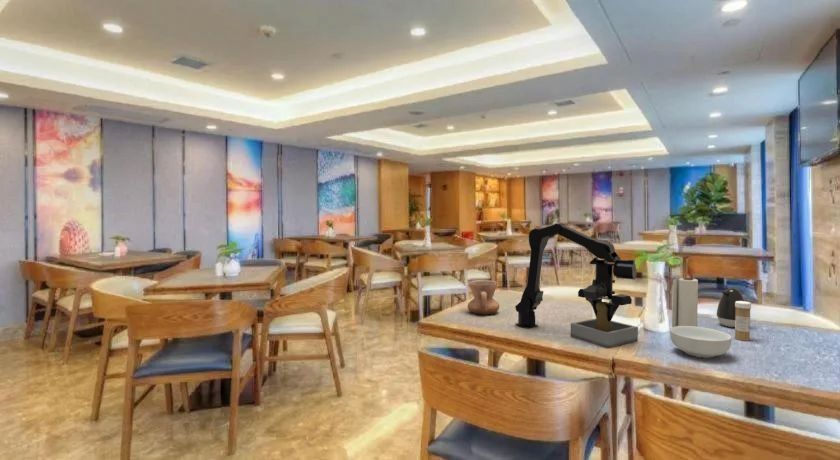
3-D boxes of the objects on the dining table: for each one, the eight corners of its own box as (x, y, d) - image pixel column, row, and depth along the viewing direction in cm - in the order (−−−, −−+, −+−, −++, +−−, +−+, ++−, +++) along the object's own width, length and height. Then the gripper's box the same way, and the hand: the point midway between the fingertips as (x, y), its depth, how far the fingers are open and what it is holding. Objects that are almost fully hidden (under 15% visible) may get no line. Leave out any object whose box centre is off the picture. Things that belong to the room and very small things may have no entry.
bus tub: (570, 336, 164) (570, 323, 164) (599, 330, 172) (599, 317, 172) (607, 348, 150) (608, 333, 150) (637, 340, 158) (637, 326, 158)
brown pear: (613, 334, 157) (614, 304, 157) (595, 334, 158) (596, 303, 158) (610, 330, 163) (610, 300, 163) (592, 329, 164) (593, 300, 164)
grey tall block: (699, 337, 162) (700, 278, 161) (694, 340, 157) (695, 280, 156) (677, 333, 167) (678, 276, 166) (671, 336, 162) (672, 278, 161)
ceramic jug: (468, 308, 213) (467, 278, 212) (499, 308, 211) (498, 278, 210) (466, 318, 195) (466, 286, 194) (500, 318, 193) (499, 286, 192)
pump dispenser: (709, 324, 179) (710, 286, 178) (728, 321, 182) (729, 285, 182) (734, 330, 169) (735, 291, 169) (754, 328, 173) (755, 289, 172)
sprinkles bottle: (739, 336, 161) (739, 300, 161) (752, 340, 157) (753, 302, 157) (731, 338, 159) (732, 301, 159) (745, 341, 155) (746, 303, 155)
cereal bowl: (707, 366, 132) (708, 342, 132) (658, 350, 148) (658, 329, 147) (743, 358, 139) (744, 335, 139) (692, 343, 154) (692, 323, 154)
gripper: (567, 275, 164) (567, 317, 165) (611, 282, 148) (611, 329, 149) (588, 273, 169) (588, 313, 170) (633, 279, 153) (632, 324, 154)
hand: (603, 319), depth 161 cm, fingers closed on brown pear, 4 cm apart
